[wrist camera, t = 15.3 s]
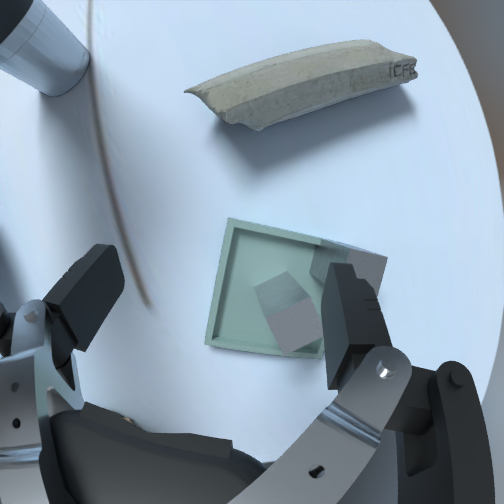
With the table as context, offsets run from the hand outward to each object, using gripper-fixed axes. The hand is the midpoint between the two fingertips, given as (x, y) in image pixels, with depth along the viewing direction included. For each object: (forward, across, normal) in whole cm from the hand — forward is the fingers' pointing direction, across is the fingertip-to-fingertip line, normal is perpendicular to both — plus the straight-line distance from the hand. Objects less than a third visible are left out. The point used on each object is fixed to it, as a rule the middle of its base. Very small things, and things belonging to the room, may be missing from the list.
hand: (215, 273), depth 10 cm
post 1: (+19, +3, -17) cm, 25 cm away
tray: (+19, +3, -17) cm, 26 cm away
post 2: (+22, +9, -13) cm, 27 cm away
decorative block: (+31, +6, +8) cm, 33 cm away
